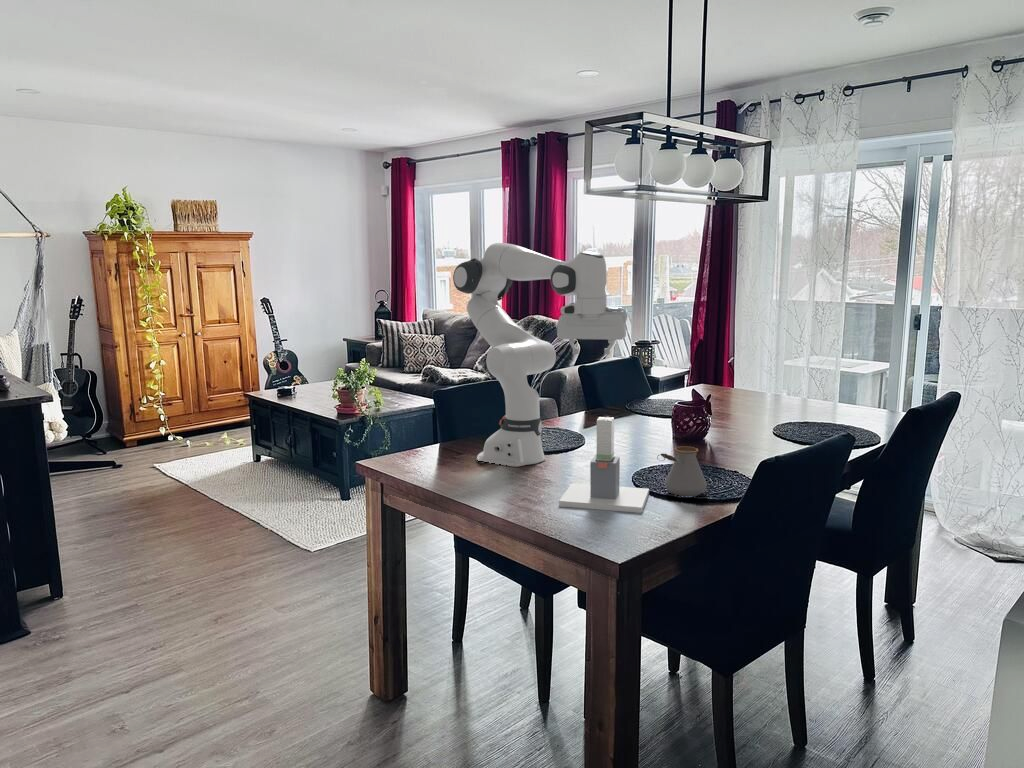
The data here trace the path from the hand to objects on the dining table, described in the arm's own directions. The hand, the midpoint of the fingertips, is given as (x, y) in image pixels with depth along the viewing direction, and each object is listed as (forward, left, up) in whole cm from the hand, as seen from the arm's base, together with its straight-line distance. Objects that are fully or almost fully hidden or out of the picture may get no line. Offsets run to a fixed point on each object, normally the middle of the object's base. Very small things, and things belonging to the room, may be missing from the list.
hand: (591, 354), depth 217 cm
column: (+8, -22, -30) cm, 38 cm away
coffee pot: (+27, -16, -37) cm, 49 cm away
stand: (+8, -22, -37) cm, 44 cm away
